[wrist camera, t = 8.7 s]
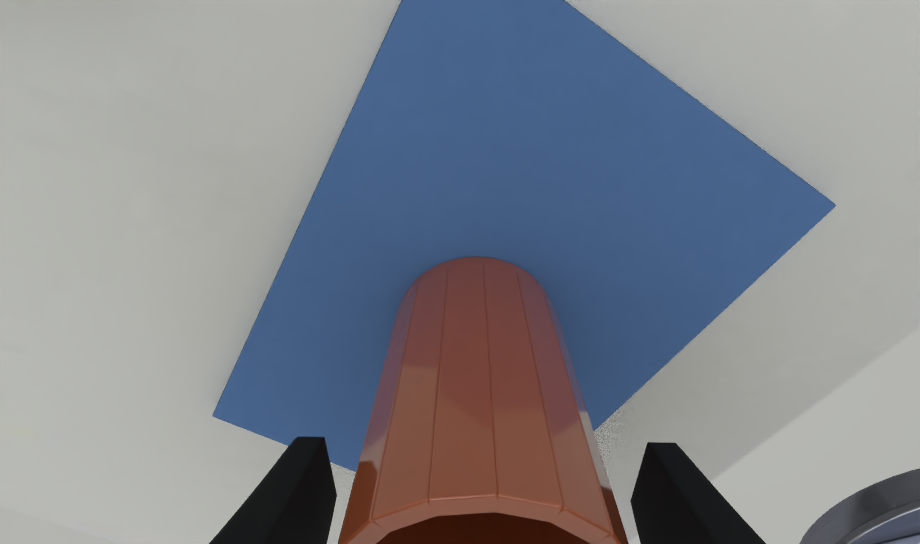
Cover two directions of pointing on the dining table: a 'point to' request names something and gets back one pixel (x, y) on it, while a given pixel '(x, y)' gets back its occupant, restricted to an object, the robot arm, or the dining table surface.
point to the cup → (479, 422)
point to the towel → (513, 212)
